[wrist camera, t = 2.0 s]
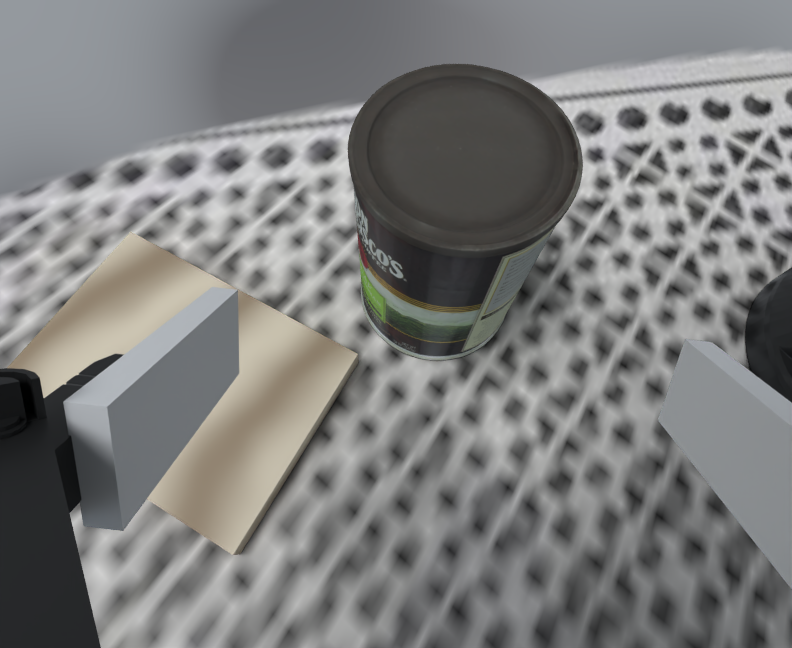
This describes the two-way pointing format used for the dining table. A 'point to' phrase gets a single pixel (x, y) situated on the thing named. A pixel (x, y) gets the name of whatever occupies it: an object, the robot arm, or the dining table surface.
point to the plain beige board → (236, 410)
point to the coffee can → (455, 201)
